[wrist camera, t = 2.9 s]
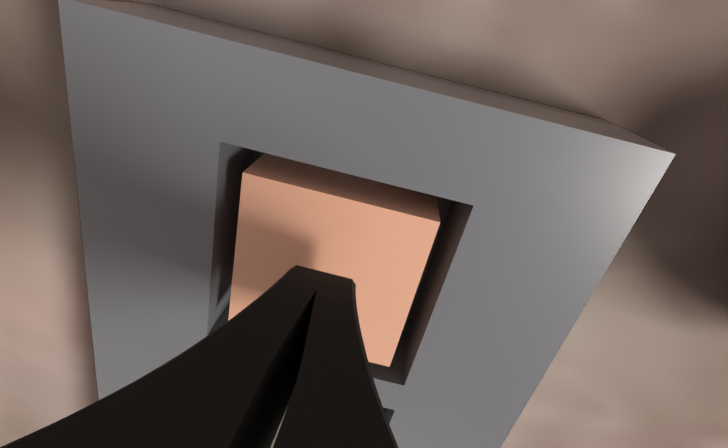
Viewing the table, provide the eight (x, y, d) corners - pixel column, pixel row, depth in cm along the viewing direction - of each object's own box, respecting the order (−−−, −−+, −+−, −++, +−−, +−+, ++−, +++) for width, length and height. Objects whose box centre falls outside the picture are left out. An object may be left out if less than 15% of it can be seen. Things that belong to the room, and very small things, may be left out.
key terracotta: (435, 189, 11) (440, 222, 9) (392, 318, 13) (389, 367, 11) (270, 147, 11) (242, 172, 9) (253, 283, 13) (227, 326, 11)
